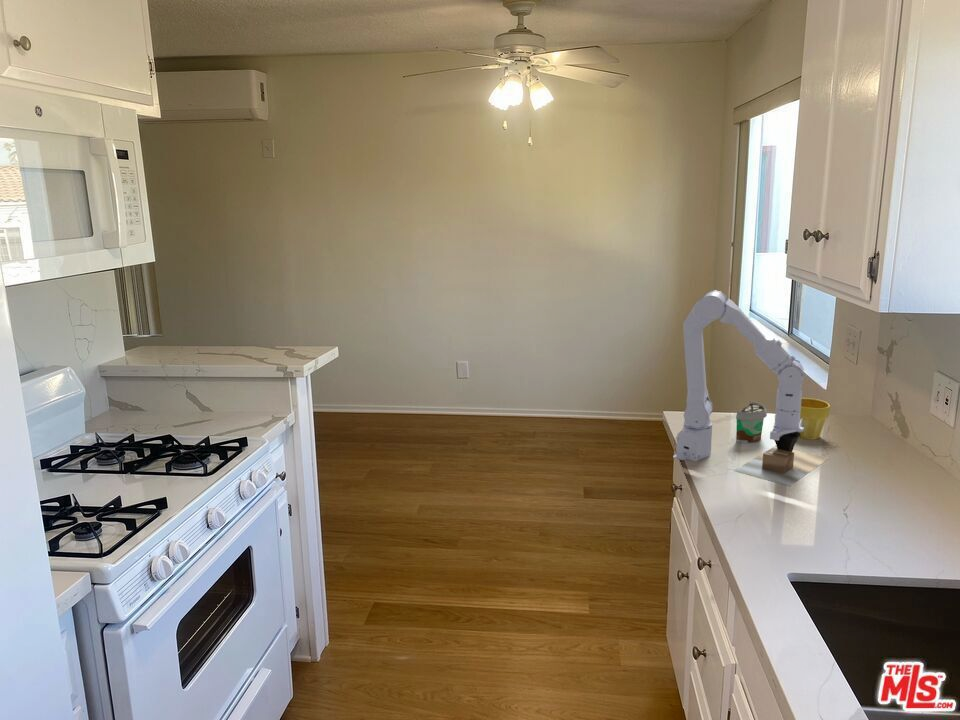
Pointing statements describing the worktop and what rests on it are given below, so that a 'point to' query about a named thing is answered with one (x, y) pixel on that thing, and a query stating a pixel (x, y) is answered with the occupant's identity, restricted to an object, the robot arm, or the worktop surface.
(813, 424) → the plant pot
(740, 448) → the worktop surface
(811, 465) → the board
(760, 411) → the food container
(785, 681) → the worktop surface
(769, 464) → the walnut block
